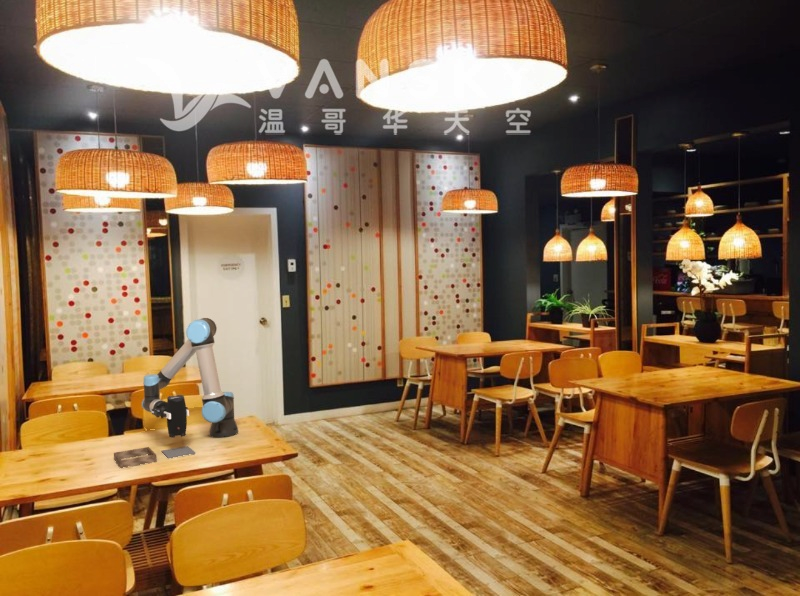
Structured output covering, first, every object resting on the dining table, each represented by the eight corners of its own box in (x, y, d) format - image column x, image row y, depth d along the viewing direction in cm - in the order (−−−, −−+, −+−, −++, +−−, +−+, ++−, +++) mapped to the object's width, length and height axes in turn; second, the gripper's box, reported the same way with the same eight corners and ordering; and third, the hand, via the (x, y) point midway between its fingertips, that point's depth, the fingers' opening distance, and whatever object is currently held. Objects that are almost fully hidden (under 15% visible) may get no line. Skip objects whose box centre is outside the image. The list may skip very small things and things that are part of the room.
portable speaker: (184, 437, 312) (183, 397, 310) (165, 438, 311) (163, 398, 310) (189, 432, 320) (187, 394, 319) (170, 433, 319) (168, 394, 318)
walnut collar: (149, 453, 316) (148, 446, 316) (156, 462, 303) (156, 454, 302) (114, 459, 307) (113, 452, 307) (120, 468, 294) (119, 461, 294)
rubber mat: (188, 447, 325) (187, 446, 325) (195, 454, 314) (195, 452, 314) (161, 452, 318) (161, 450, 318) (167, 459, 307) (167, 457, 307)
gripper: (180, 411, 336) (200, 418, 320) (139, 418, 322) (158, 426, 305) (179, 397, 336) (199, 403, 320) (138, 403, 321) (157, 410, 305)
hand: (179, 414), depth 312 cm, fingers closed on portable speaker, 8 cm apart
